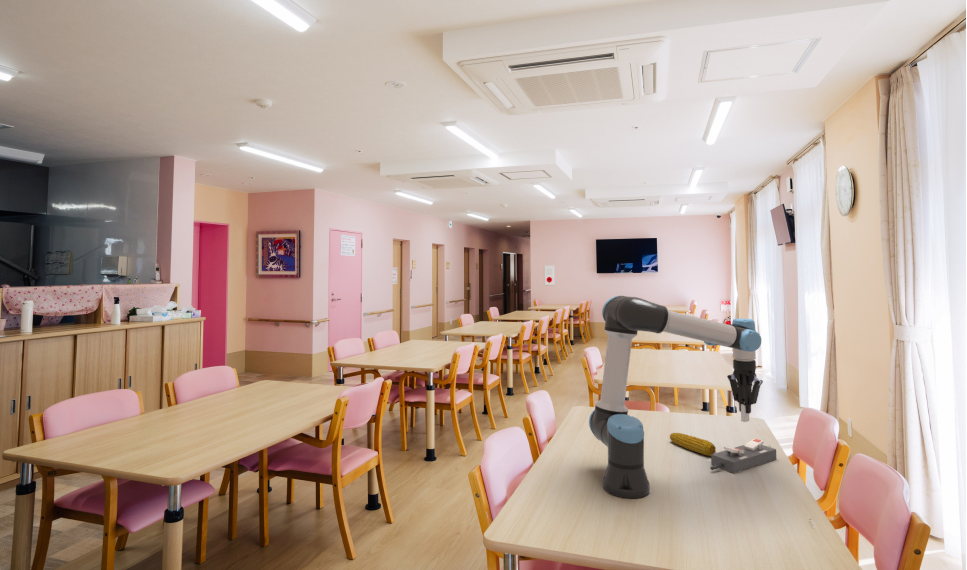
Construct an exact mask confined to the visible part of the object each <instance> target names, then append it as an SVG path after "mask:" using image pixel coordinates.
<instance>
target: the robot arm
mask: <svg viewBox="0 0 967 570" xmlns="http://www.w3.org/2000/svg"><path fill="white" fill-rule="evenodd" d="M601 315H602V318H603V320H604V332H605V334H606V335H607V340H606V341H607V342H606V348H605V350H606V351H605V356H604V357H605V358H604V365H603V366H604V367H603V375H602V382H601V384H602V385H601V390H600V391H601V393H600V399H599V400H598V401H597V402H596V403H595V407H594V410H593V411H592V412H590V415H589V419H588V426H589V429H590V431H591V433H592V434H593V436H594V437H595V438H596V439H597V440H599V441H600V442H601V443H602V444H604V445H605V446H606V447H607V465H606V469H605V473H604V475H603V478H602V487H603V489H604V490H605V492H607V493H608V494H611V495H613V496H615V497H620V498H626V499H638V498H639V499H640V498H644V497H645V496H648V495H649V494H650V487H651V485H650V482H649V479H648V475H647V473H646V469H645V453H644V452H645V442H644V441H645V431H644V424H643V423H642V421H641V420H640V419H639V418H637V417H635V416H631V415H629V414H628V412H629V408H628V407H627V406H626V405H625V402H626V393H627V391H626V390H627V384H628V377H629V375H628V374H629V368H630V360H631V353H632V352H631V351H632V343H633V339H634V338H635V337H636V336H638V332H649V333H655V334H661V333H663V332H664V333H667V334H671V335H676V336H681V337H685V338H689V339H692V340H697V341H702V342H704V344H705V345H707V346H714V347H715V346H720V347H721V346H722V347H727V348H732V358H734V359H733V360H732V365H733V366H732V368H733V372H732V374H728V375H727V379H728V381H729V385H730V389H731V392H732V396H733V397H732V398H733V400H734V401H735V402H737V403H738V411H739V412H740V421H741V422H743V423H747V422H750V414H751V413H752V405H755V404H757V402H758V398H759V393H760V388H761V385H762V384H763V383H764V380H762V379H759V378H758V377H757V373H756V370H757V364H756V363H757V362H756V351H758V350H759V349H760V347H761V345H762V336H761V335H760V333H759V332H758V331H757V330H756V323H755V321H754V319H752V318H743V317H741V318H734V319H732V322H731V324H727V323H723V322H718V321H715V320H714V321H713V320H710V319H706V318H701V317H699V316H694V315H690V314H686V313H682V312H677V311H672V310H669V309H668V307H667V306H665V305H661V304H658V303H655V302H652V301H649V300H646V299H643V298H642V297H641V298H640V297H636V296H626V295H617V296H613V297H611V298H609V299H608V300H607V301H606V302H605V303H604V304H603V307H602V310H601Z"/></svg>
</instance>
